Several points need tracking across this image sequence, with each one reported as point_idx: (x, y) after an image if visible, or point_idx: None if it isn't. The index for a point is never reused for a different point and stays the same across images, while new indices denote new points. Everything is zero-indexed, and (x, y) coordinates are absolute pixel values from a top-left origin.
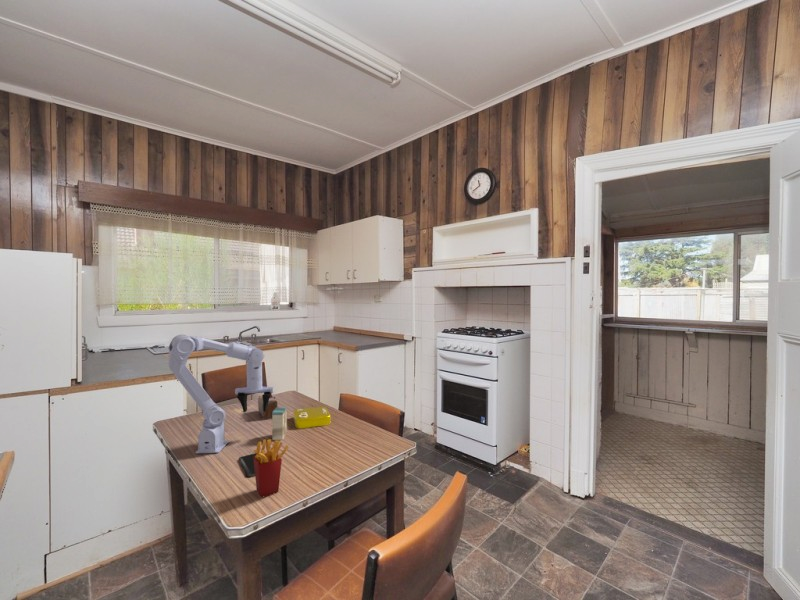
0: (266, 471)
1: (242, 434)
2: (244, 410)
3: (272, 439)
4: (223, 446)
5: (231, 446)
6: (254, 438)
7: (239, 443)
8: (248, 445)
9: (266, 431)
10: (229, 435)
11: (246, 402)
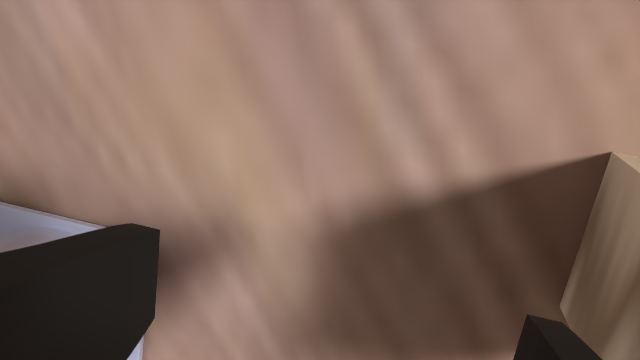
0: None
1: (230, 66)
2: (124, 343)
3: (563, 309)
4: (139, 346)
5: (200, 328)
6: (373, 211)
7: (252, 287)
8: (339, 353)
9: (491, 37)
10: (107, 61)
11: (41, 298)
